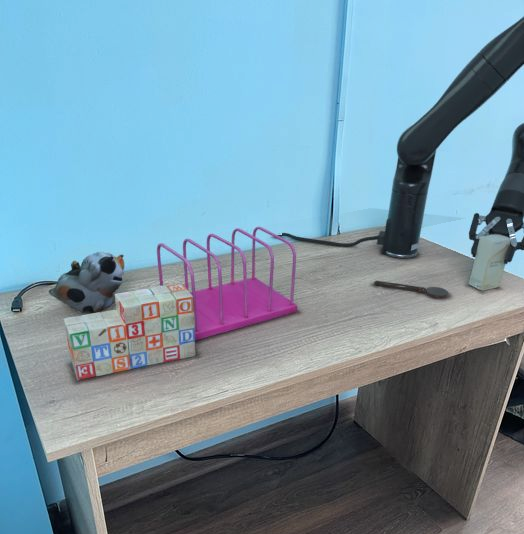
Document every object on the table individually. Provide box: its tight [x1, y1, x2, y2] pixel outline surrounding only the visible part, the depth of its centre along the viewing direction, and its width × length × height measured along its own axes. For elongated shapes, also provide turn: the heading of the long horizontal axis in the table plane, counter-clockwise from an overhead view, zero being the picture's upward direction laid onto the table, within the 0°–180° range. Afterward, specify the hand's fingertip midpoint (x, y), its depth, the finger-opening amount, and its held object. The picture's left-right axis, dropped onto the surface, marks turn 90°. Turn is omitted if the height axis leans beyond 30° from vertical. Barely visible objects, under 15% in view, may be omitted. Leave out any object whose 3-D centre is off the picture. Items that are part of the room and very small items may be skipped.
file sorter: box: [156, 226, 298, 341], centre depth 111 cm, size 17×25×16 cm
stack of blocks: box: [63, 283, 197, 381], centre depth 93 cm, size 21×6×12 cm, turn 115°
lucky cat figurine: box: [48, 251, 125, 314], centre depth 113 cm, size 15×12×14 cm
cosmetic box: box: [468, 234, 511, 291], centre depth 125 cm, size 6×4×12 cm
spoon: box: [373, 280, 449, 300], centre depth 125 cm, size 17×5×1 cm, turn 72°
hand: (489, 259), depth 123 cm, fingers closed on cosmetic box, 6 cm apart
